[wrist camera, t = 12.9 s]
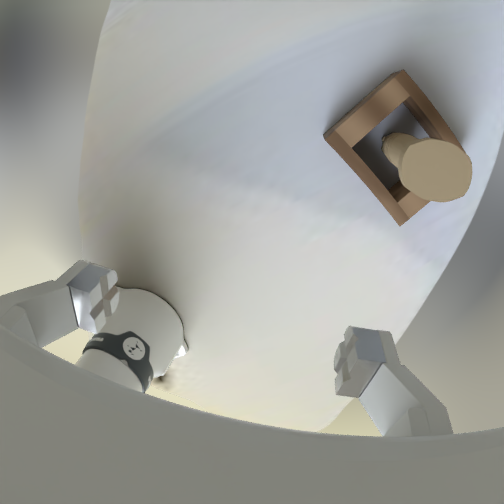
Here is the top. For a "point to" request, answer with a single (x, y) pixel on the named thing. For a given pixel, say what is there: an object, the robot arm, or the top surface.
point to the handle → (429, 166)
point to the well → (371, 114)
